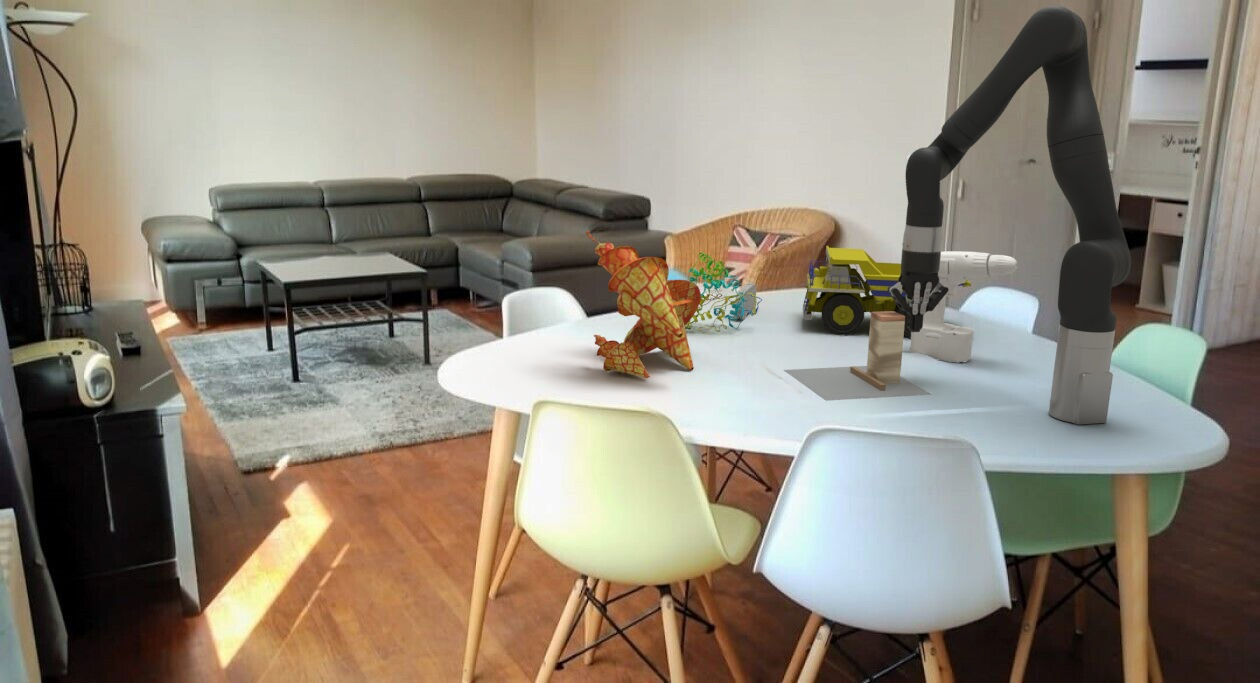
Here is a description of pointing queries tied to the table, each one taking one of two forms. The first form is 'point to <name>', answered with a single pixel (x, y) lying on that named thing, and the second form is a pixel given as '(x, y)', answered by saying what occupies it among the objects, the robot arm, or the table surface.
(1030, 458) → the table surface
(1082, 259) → the robot arm
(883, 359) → the birch block
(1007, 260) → the power drill
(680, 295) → the sculpture
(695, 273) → the molecular model
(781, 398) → the table surface
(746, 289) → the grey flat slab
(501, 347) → the table surface
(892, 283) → the toy truck
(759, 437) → the table surface
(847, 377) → the mat
